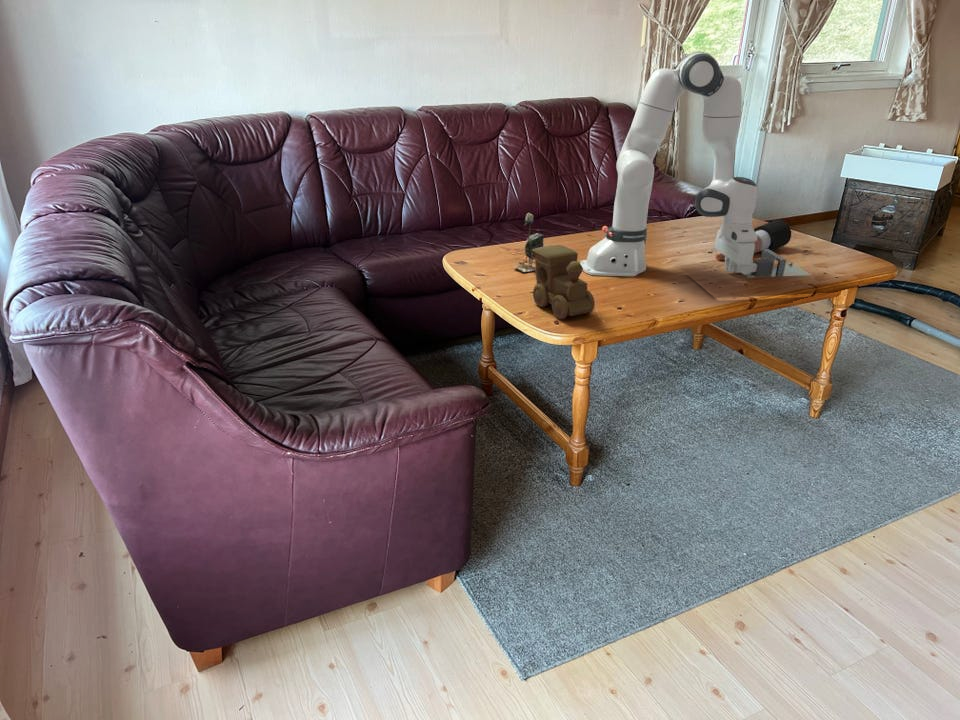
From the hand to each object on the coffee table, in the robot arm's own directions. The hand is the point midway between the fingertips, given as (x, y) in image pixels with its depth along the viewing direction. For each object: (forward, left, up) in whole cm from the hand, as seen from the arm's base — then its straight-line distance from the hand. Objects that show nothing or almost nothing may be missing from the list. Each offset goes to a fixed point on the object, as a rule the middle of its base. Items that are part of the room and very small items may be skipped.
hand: (729, 270), depth 222 cm
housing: (+16, +2, -2) cm, 16 cm away
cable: (+18, +22, -3) cm, 28 cm away
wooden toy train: (-61, -22, -3) cm, 65 cm away
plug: (+8, 0, -1) cm, 8 cm away
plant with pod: (-64, +16, -2) cm, 66 cm away
